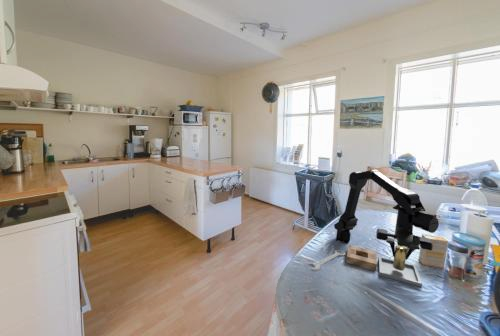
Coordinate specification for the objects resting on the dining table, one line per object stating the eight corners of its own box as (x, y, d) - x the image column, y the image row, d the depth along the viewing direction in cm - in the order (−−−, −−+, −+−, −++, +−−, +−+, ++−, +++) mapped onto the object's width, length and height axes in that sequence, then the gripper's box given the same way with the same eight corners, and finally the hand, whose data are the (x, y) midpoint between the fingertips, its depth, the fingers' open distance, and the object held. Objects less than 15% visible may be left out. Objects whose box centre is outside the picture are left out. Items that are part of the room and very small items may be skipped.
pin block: (346, 262, 100) (346, 256, 100) (348, 250, 111) (349, 245, 110) (376, 270, 95) (377, 264, 94) (375, 257, 105) (376, 251, 105)
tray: (379, 276, 91) (379, 272, 90) (378, 260, 103) (378, 256, 102) (421, 288, 84) (422, 283, 84) (415, 269, 96) (415, 265, 96)
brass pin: (393, 268, 92) (396, 248, 91) (392, 263, 96) (395, 244, 94) (404, 271, 90) (407, 251, 89) (403, 266, 94) (406, 247, 92)
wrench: (304, 267, 97) (314, 273, 93) (304, 264, 97) (314, 270, 93) (338, 250, 111) (347, 255, 107) (338, 247, 111) (348, 252, 107)
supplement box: (439, 263, 102) (443, 236, 100) (444, 269, 97) (449, 241, 95) (417, 259, 104) (421, 233, 102) (421, 265, 100) (426, 237, 98)
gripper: (379, 224, 87) (374, 260, 90) (439, 235, 79) (432, 275, 81) (378, 215, 97) (374, 248, 99) (431, 224, 88) (426, 260, 91)
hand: (399, 257), depth 92 cm, fingers closed on brass pin, 4 cm apart
